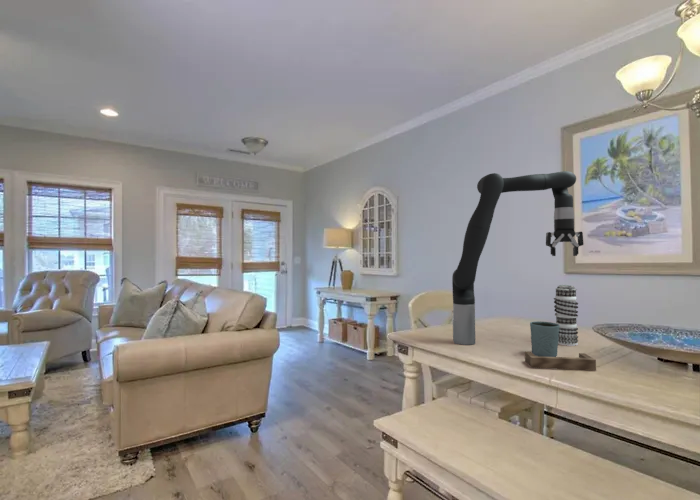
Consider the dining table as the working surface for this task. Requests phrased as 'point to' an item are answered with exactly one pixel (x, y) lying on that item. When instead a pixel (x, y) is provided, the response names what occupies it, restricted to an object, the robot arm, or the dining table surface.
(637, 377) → the dining table surface
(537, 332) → the teal cup
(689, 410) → the dining table surface
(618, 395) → the dining table surface
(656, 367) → the dining table surface
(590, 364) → the walnut rail
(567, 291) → the decorative candle
